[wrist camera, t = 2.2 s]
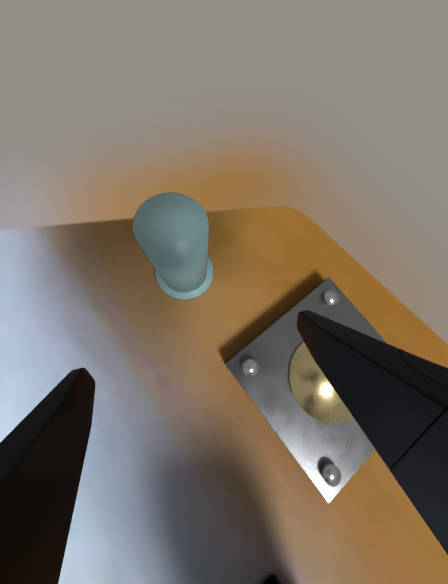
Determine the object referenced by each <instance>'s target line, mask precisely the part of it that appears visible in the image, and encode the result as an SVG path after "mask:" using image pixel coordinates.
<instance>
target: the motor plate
mask: <svg viewBox="0 0 448 584" xmlns="http://www.w3.org/2000/svg"><path fill="white" fill-rule="evenodd" d="M303 310H310V311H312V312H314V313H317V314H319V315H321V316H324V317H326V318H328V319H331V320H333V321H336V322H338V323H340V324H343V325H345V326H347V327H350V328H352V329H354V330H357V331H359V332H361V333H364V334H366V335H368V336H371V337H373V338H375V339H378V340H380V341H382V342H385V341H384V340H383V339H382V337H381V336H380V335H379V334H378V333H377V332H376V331H375V329H374V328H373V327H372V326H371V325H370V324H369V323H368V321H367V320H366V319H365V318H364V317H363V316H362V314H361V313H360V312H359V311H358V310H357V309H356V308H355V306H354V305H353V304H352V303H351V302H350V301H349V300H348V298H347V297H346V296H345V295H344V294H343V293H342V292H341V290H340V289H339V288H338V287H337V286H336V285H335V284H334V282H333V281H332V280H331V279H330V278H327V279H325V280H323V281H322V282H320V283H319V284H318V285H317V286H316V287H314V288H313V289H312V290H311V291H310V292H308V293H307V294H306V295H305V296H304V297H302V298H301V299H300V300H299V301H298V302H296V303H295V304H294V305H293V306H292V307H290V308H289V309H288V310H287V311H286V312H284V313H283V314H282V315H281V316H280V317H278V318H277V319H276V320H275V321H274V322H272V323H271V324H270V325H269V326H267V327H266V328H265V329H264V330H263V331H261V332H260V333H259V334H258V335H257V336H255V337H254V338H253V339H252V340H251V341H249V342H248V343H247V344H246V345H245V346H243V347H242V348H241V349H240V350H239V351H237V352H236V353H235V354H234V355H233V356H231V357H230V358H229V359H228V360H227V361H225V362H224V363H225V365H226V366H227V367H228V369H229V370H230V371H231V373H232V374H233V375H234V377H235V378H236V379H237V381H238V382H239V383H240V385H241V386H242V387H243V389H244V390H245V392H246V393H247V394H248V396H249V397H250V398H251V400H252V401H253V402H254V404H255V405H256V406H257V408H258V409H259V410H260V412H261V413H262V414H263V416H264V417H265V418H266V420H267V421H268V423H269V424H270V425H271V427H272V428H273V429H274V431H275V432H276V433H277V435H278V436H279V437H280V439H281V440H282V441H283V443H284V444H285V445H286V447H287V448H288V450H289V451H290V452H291V454H292V455H293V456H294V458H295V459H296V460H297V462H298V463H299V464H300V466H301V467H302V468H303V470H304V471H305V472H306V474H307V475H308V476H309V478H310V479H311V481H312V482H313V483H314V485H315V486H316V487H317V489H318V490H319V491H320V493H321V494H322V495H323V497H324V498H325V499H326V501H327V502H328V503H330V501H331V500H332V499H333V498H334V497H335V496H336V494H337V493H338V492H339V491H340V490H341V489H342V487H343V486H344V485H345V484H346V483H347V482H348V480H349V479H350V478H351V477H352V476H353V474H354V473H355V472H356V471H357V470H358V469H359V467H360V466H361V465H362V464H363V463H364V462H365V460H366V459H367V458H368V457H369V456H370V454H371V453H372V452H373V451H374V450H375V448H374V447H373V445H372V444H371V442H370V441H369V439H368V438H367V436H366V435H365V433H364V432H363V431H362V429H361V428H360V426H359V425H358V423H357V422H356V420H355V419H354V417H353V416H352V415H351V413H350V412H349V410H348V409H347V407H346V406H345V404H344V403H343V401H342V400H341V399H340V397H339V396H338V394H337V393H336V391H335V390H334V388H333V387H332V385H331V384H330V383H329V381H328V380H327V378H326V377H325V375H324V374H323V372H322V371H321V369H320V368H319V367H318V365H317V364H316V362H315V361H314V359H313V357H312V356H311V354H310V352H309V350H308V348H307V346H306V345H305V343H304V341H303V339H302V337H301V335H300V334H299V332H298V330H297V317H298V313H299V312H300V311H303ZM385 343H386V342H385Z"/></svg>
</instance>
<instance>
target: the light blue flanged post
mask: <svg viewBox="0 0 448 584" xmlns="http://www.w3.org/2000/svg"><path fill="white" fill-rule="evenodd" d="M133 233H134V236H135V239H136V241H137V242H138V244H139V245H140V247H141V248H142V250H143V251H144V253H145V254H146V256H147V257H148V259H149V260H150V262H151V263H152V264H153V266H154V267H155V277H156V281H157V283H158V285H159V286H160V288H161V289H162V290H163V291H164V292H165V293H166V294H167V295H169V296H170V297H172V298H175V299H179V300H190V299H194V298H196V297H198V296H200V295H202V294H203V293H204V292H205V291H206V290H207V289H208V287H209V286H210V284H211V282H212V278H213V265H212V262H211V260H210V258H209V256H208V235H209V222H208V218H207V215H206V213H205V211H204V209H203V208H202V206H201V205H200V204H199V203H197V202H196V201H195V200H194V199H192V198H190V197H188V196H186V195H183V194H179V193H163V194H159V195H156V196H153V197H151V198H150V199H148V200H146V201H145V202H144V203H143V204H142V205H141V206H140V207H139V209H138V210H137V212H136V214H135V217H134V220H133Z"/></svg>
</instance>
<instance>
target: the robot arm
mask: <svg viewBox="0 0 448 584" xmlns="http://www.w3.org/2000/svg"><path fill="white" fill-rule="evenodd" d="M297 330H298V332H299V334H300V335H301V337H302V339H303V341H304V343H305V345H306V346H307V348H308V350H309V352H310V354H311V356H312V357H313V359H314V361H315V362H316V364H317V365H318V367H319V368H320V369H321V371H322V372H323V374H324V375H325V377H326V378H327V380H328V381H329V383H330V384H331V385H332V387H333V388H334V390H335V391H336V393H337V394H338V396H339V397H340V399H341V400H342V401H343V403H344V404H345V406H346V407H347V409H348V410H349V412H350V413H351V415H352V416H353V417H354V419H355V420H356V422H357V423H358V425H359V426H360V428H361V429H362V431H363V432H364V433H365V435H366V436H367V438H368V439H369V441H370V442H371V444H372V445H373V447H374V448H375V449H376V451H377V452H378V454H379V455H380V457H381V458H382V460H383V461H384V462H385V464H386V465H387V467H388V468H389V469H390V471H391V473H392V474H393V476H394V477H395V479H396V480H397V482H398V483H399V485H400V486H401V487H402V489H403V490H404V492H405V493H406V495H407V496H408V498H409V499H410V501H411V502H412V503H413V505H414V506H415V508H416V509H417V511H418V512H419V514H420V515H421V517H422V518H423V519H424V521H425V522H426V524H427V525H428V527H429V528H430V530H431V531H432V533H433V534H434V535H435V537H436V538H437V540H438V541H439V543H440V544H441V546H442V547H443V548H444V550H445V551H446V553H447V554H448V368H446V367H443V366H441V365H438V364H435V363H433V362H430V361H428V360H425V359H423V358H420V357H418V356H415V355H413V354H411V353H408V352H406V351H404V350H401V349H397V348H396V347H394V346H392V345H389V344H387V343H385V342H382V341H380V340H378V339H375V338H373V337H371V336H368V335H366V334H364V333H361V332H359V331H357V330H354V329H352V328H350V327H347V326H345V325H343V324H340V323H338V322H336V321H333V320H331V319H328V318H326V317H324V316H321V315H319V314H317V313H314V312H312V311H310V310H303V311H300V312H299V313H298V317H297ZM94 394H95V381H94V379H93V377H92V376H91V375H90V374H89V372H88V371H87V370H86V369H85V368H79V369H75V370H72V371H71V372H70V373H69V374H68V375H67V376H66V377H65V378H64V379H63V380H62V381H61V382H60V383H59V384H58V385H57V386H56V387H55V388H54V389H53V390H52V391H51V392H50V393H49V394H48V395H47V396H46V397H45V398H44V399H43V400H42V401H41V402H40V403H39V404H38V405H37V406H36V407H35V408H34V409H33V410H32V411H31V412H30V413H29V414H28V415H27V416H26V417H25V418H24V419H23V420H22V421H21V422H20V423H19V424H18V425H17V426H16V427H15V429H14V430H13V431H12V432H11V433H10V434H9V435H8V436H7V437H6V438H5V439H4V440H3V441H2V442H1V443H0V584H58V581H59V577H60V572H61V567H62V562H63V558H64V553H65V548H66V543H67V539H68V534H69V529H70V524H71V520H72V515H73V510H74V506H75V501H76V496H77V491H78V487H79V482H80V477H81V472H82V468H83V463H84V458H85V453H86V449H87V444H88V439H89V434H90V429H91V423H92V414H93V404H94ZM263 584H281V583H280V581H279V580H278V578H277V577H276V576H275V575H270V576H269V577H268V578H267V580H266V581H265V582H264V583H263Z"/></svg>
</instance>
